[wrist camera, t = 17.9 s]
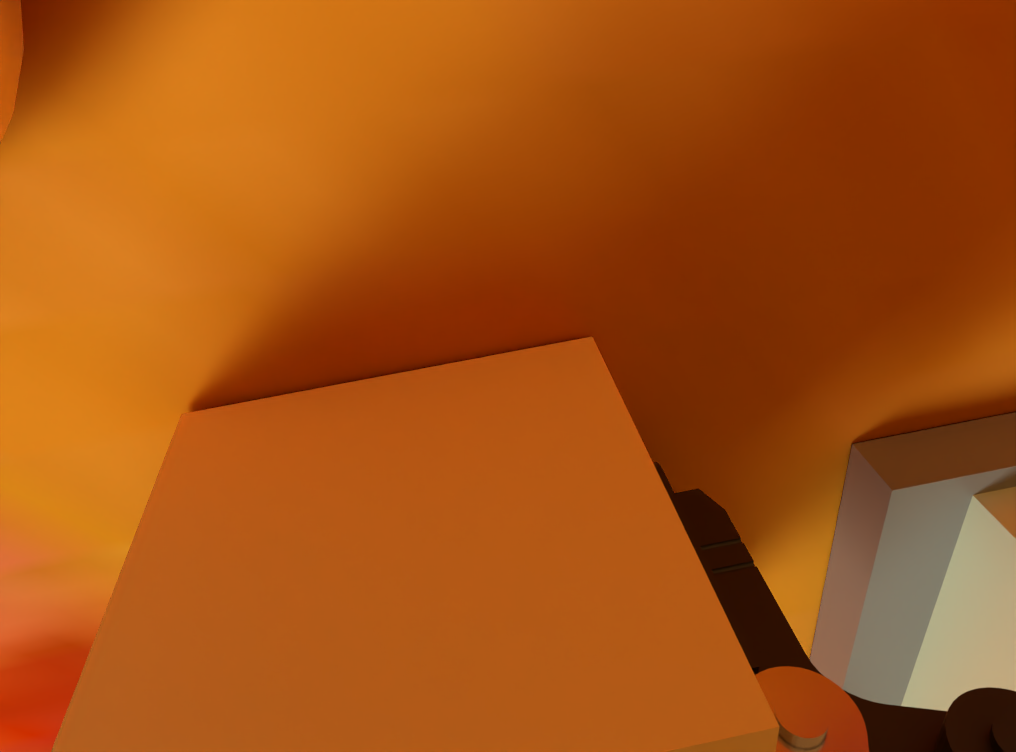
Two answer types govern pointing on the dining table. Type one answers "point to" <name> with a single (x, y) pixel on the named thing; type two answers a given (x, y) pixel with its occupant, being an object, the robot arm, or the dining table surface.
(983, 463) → the tower base
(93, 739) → the ochre block
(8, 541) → the dining table surface
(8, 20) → the plastic bottle
